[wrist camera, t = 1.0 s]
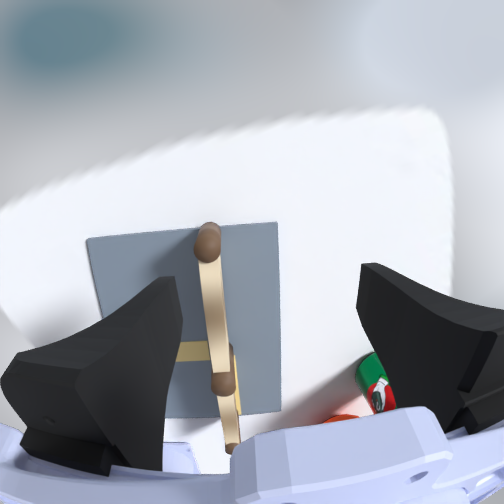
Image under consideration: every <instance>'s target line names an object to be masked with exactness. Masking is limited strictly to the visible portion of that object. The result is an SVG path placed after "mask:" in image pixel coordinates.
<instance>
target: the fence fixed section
mask: <svg viewBox="0 0 504 504" xmlns="http://www.w3.org/2000/svg"><path fill="white" fill-rule="evenodd" d="M229 359H230V372H216V373H213V368H211V390H212V392H213V393H214V394H215V395H217V399H218V405H219V410H220V416H221V422H222V427H223V432H224V438H225V451H226V453H228V454H230V455H232V453H233V450H234V447H236V446H237V445H239V444H240V443H241V439H240V428H239V416H238V410H237V407H236V399H235V391H236V380H235V367H234V353H233V346H232V344H231V343H229Z"/></svg>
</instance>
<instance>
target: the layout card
mask: <svg viewBox="0 0 504 504" xmlns="http://www.w3.org/2000/svg"><path fill="white" fill-rule="evenodd" d="M219 227H220V229H221V253H220V257H221V268H222V279H223V290H224V300H225V310H226V320H227V330H228V339H229V343H231V344H232V346H233V353H234V367H235V380H236V391H235V399H236V407H237V410H238V416H241V415H252V414H262V413H271V412H279V411H281V329H280V281H279V247H278V223H277V222H268V223H253V224H239V225H226V226H219ZM199 230H200V228H189V229H177V230H166V231H155V232H144V233H134V234H123V235H113V236H104V237H94V238H88V239H87V244H88V249H89V255H90V260H91V265H92V270H93V275H94V280H95V284H96V289H97V293H98V297H99V301H100V306H101V310H102V313H103V317H104V318H105V317H107V316H108V315H110V314H111V313H113V312H114V311H116V310H117V309H118V308H120V307H121V306H122V305H124V304H125V303H126V302H128V301H129V300H130V299H132V298H133V297H134V296H135V295H137V294H138V293H139V292H140V291H141V290H143V289H144V288H145V287H146V286H148V285H149V284H150V283H151V282H153V281H154V280H155V279H157V278H158V277H163V276H175V280H176V286H177V291H178V296H179V301H180V306H181V311H182V316H183V327H182V336H181V342H180V346H179V350H178V354H177V358H176V362H175V365H174V369H173V373H172V377H171V381H170V385H169V390H168V395H167V403H166V412H165V418H210V417H221V416H220V410H219V405H218V399H217V395H215V394H214V393H213V392H212V390H211V368H212V361H211V355H210V348H209V341H208V334H207V327H206V320H205V312H204V304H203V296H202V288H201V280H200V271H199V262H198V259H197V258H196V257H195V255H194V250H193V249H194V245H195V242H196V239H197V236H198V233H199Z"/></svg>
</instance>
